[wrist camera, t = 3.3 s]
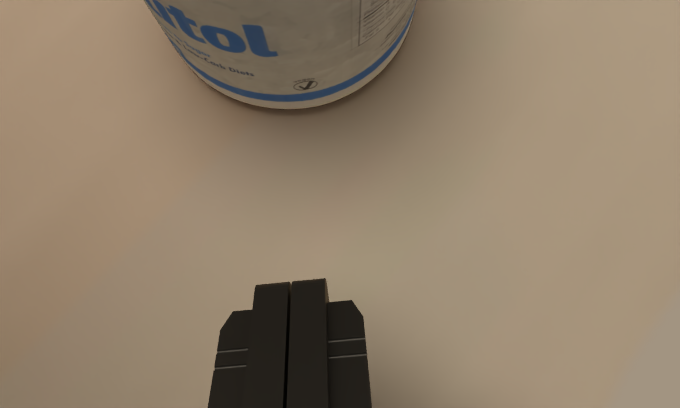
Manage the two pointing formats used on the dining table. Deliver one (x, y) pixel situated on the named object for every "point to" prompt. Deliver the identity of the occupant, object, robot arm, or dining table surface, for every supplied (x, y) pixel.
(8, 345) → the dining table surface
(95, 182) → the dining table surface
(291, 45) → the supplement tub
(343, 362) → the robot arm
